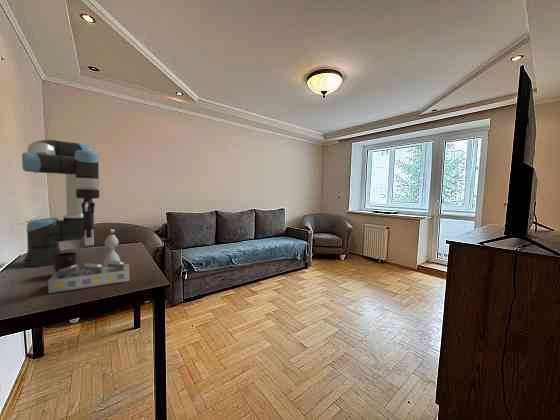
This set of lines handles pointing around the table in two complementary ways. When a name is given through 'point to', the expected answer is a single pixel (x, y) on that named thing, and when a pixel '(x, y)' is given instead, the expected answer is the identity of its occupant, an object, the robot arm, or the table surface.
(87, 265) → the switch
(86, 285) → the console
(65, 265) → the mug
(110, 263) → the switch
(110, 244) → the figurine
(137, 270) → the table surface
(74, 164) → the robot arm
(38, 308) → the table surface
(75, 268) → the switch
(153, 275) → the table surface
